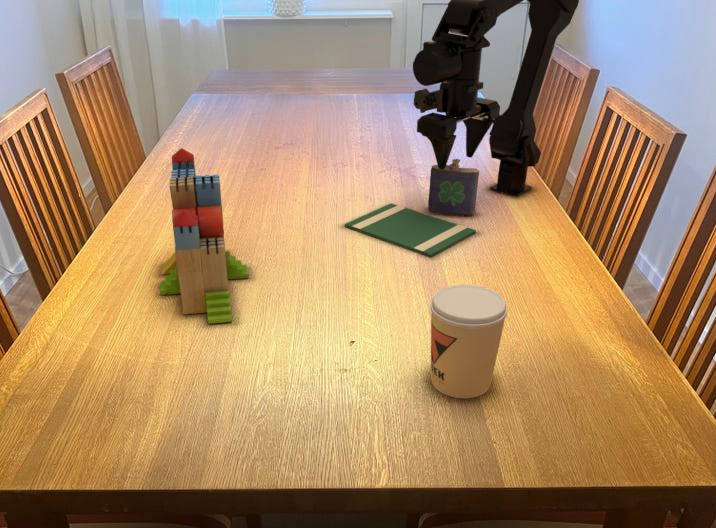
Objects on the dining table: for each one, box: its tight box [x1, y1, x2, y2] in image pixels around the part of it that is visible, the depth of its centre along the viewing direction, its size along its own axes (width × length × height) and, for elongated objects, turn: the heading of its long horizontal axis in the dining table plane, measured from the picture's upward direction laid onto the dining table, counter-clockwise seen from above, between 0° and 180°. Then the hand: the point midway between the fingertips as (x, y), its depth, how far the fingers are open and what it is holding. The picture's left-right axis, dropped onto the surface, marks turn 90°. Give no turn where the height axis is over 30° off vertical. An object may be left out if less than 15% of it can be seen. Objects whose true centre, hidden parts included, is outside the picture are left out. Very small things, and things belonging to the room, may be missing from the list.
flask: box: [427, 158, 480, 218], centre depth 143 cm, size 9×3×11 cm, turn 74°
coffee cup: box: [429, 284, 508, 399], centre depth 94 cm, size 9×9×12 cm
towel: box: [344, 203, 477, 258], centre depth 139 cm, size 14×20×1 cm
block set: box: [159, 148, 249, 324], centre depth 116 cm, size 28×14×19 cm, turn 9°
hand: (455, 162), depth 141 cm, fingers open, 9 cm apart
